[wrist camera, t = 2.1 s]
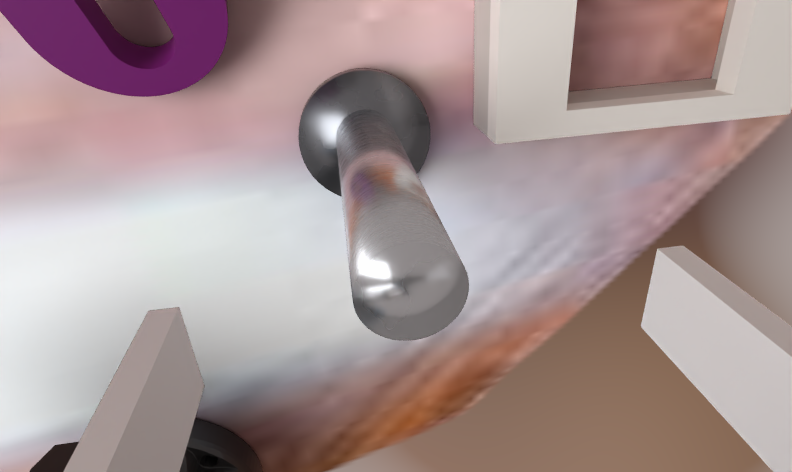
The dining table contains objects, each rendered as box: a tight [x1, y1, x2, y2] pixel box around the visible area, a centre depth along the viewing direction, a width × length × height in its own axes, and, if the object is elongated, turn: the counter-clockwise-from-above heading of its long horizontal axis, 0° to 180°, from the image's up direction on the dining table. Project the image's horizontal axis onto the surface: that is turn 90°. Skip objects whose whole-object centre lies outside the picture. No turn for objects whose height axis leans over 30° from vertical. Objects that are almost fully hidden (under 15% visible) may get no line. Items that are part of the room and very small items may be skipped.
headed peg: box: [299, 68, 469, 340], centre depth 23 cm, size 8×8×18 cm
